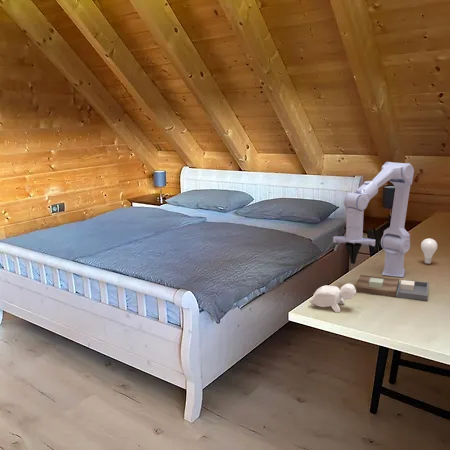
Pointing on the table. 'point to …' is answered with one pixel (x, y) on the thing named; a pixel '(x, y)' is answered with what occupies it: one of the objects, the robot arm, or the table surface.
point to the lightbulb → (428, 249)
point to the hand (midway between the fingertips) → (353, 263)
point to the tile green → (376, 282)
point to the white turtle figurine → (332, 296)
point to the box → (417, 294)
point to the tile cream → (407, 285)
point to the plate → (387, 289)
